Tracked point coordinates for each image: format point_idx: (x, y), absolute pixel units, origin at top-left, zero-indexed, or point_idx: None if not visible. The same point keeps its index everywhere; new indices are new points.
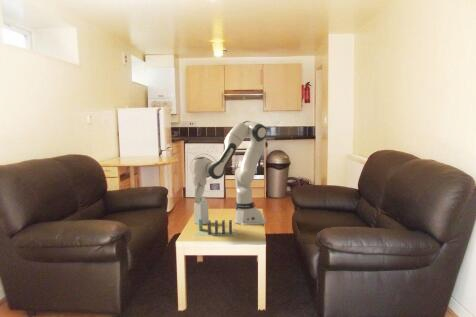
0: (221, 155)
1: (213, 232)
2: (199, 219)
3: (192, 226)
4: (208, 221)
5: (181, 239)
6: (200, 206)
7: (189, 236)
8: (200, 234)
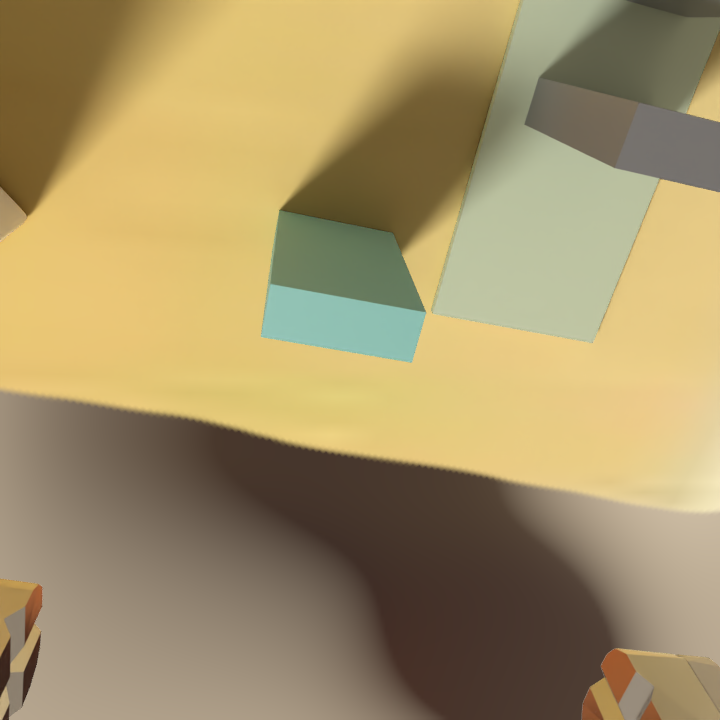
0: None
1: (560, 30)
2: (412, 353)
3: (91, 362)
4: (709, 176)
5: (645, 503)
6: None
7: (571, 415)
8: (578, 270)
